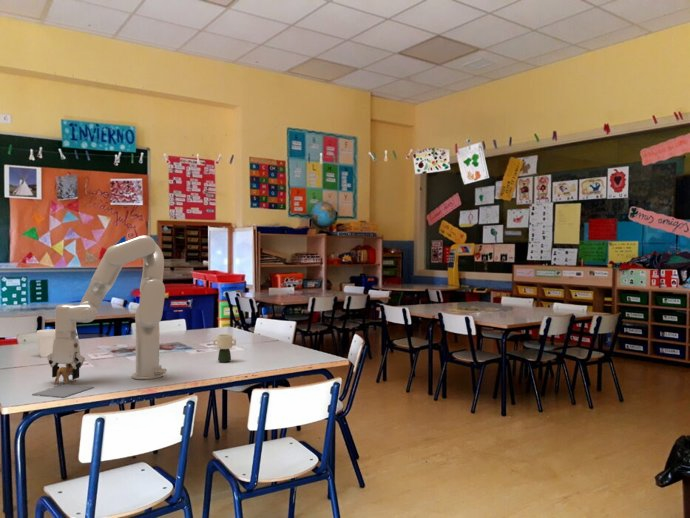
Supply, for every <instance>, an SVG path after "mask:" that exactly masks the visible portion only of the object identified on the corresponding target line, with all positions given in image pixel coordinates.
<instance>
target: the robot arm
mask: <svg viewBox="0 0 690 518" xmlns="http://www.w3.org/2000/svg"><path fill="white" fill-rule="evenodd" d="M161 249H162V248H160V246H159V245H158V244H157V243H156V242H155V239H154V238H153V237H151V236H149V235H146V234H145V235H139V236H137V237H134V238H132V239H129V240H126V241H123V242H120V243H117V244H115V245H110V246H109V247H108V248H107V249H106V251H105V253H104V254H103V256H102V258H101V260H100V262H99V264H98V266H97V268H96V269H95V272H94V273H93V276H92V277H91V280H90V282H89V284H88V286H87V289H86V291H85V293H84V295H83V297H82V299H81V300H80V302H79V304H76V305H75V304H71V303H67V304H66V303H64V304H58V305H56V307H55V309H54V310H55V311H54V312H55V315H54V316H55V318H54V319H55V320H54V322H55V323H54V325H55V326H54V327H55V339H54V343H53V352H52V353H51V354H50V355H48V356H47V357H46V358H47V361H48V364H49V365H50V368H51V377H52V378H56V376H57V371H58V369H59V368H60V366H59V365H60V364H63V365H64V364H65V365H66V364H71V365H72V366H73V368H74V369H73V370H72V375H71V379H75V380H76V379H79V378H80V369H81V367H82V366H83V365H84V362H85V359H86V358H85V357H84V356H83V355H81V346H80V342H79V338H78V335H79V334H78V332H77V323H83V324H85V323H91V322H93V321H94V320H95V319H96V318H97V314H98V313H97V312H98V311H99V309H100V306H101V304H102V303H103V300H104V299H105V297H106V295H107V294H108V292H109V291H110V290H111V289H112V287H113V286H114V284H115V283H116V280H117V278H118V276H119V274H120V272H121V271H122V268H123V266H124V265H125V264H126V265H127V264H128V263H132V262H133V261H137V260H139V259H142V274H141V281H140V285H139V292H140V295H139V304H138V306H137V308H136V309H135V315H134V317H135V319H134V320H135V321H134V322H135V372H134V373H132V374H131V378H132V379H135V380H153V379H158V378H161V377H163V376H164V375H166V373H167V368H162V365H161V364H160V322H161V320H162V317H163V311H164V304H165V295H166V287H165V284H164V282H163V281H164V270H165V258H164V253H163V251H162V250H161ZM75 364H76V365H75Z"/></svg>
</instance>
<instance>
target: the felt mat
mask: <svg viewBox="0 0 690 518" xmlns="http://www.w3.org/2000/svg"><path fill="white" fill-rule="evenodd" d="M94 388H95V386H88V385H79V384H65V383H64V384H61V385H60V384H59V385H56V386H54V387H50V388H48V389H44V390H41V391H39V392H35V393H32V394H31V395H32V396H37V395H40V396H39V397H48V396H52V397H51V398H59V397H61V398H60V399H64V398H68V397H71V396H73V395H76V394H79V393H82V392H86V391H88V390H91V389H94Z"/></svg>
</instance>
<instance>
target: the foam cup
mask: <svg viewBox="0 0 690 518" xmlns="http://www.w3.org/2000/svg"><path fill="white" fill-rule="evenodd" d="M36 337H37V338H36V339H37V346H38V351H39V357H40V356H41V357H40V358H47V356H48V355H50V354H51V353H52V352H53V343H54V339H55V329H54V328H47V329H39V330H36Z"/></svg>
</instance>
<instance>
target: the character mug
mask: <svg viewBox="0 0 690 518" xmlns="http://www.w3.org/2000/svg"><path fill="white" fill-rule="evenodd" d="M212 342H213V346H217V347H216V348H217V349H219V351H218V356H217V357H218V358H217V361H219V362H221V363H223V362H224V363H225V362H227V363H228V362H229V361H231V360H232V355H231V350H230V349H231V348H232V347H233V346H237V339H236V338H233V335H232V334H230V333H222V334H217V337H216V338H213V340H212Z"/></svg>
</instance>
